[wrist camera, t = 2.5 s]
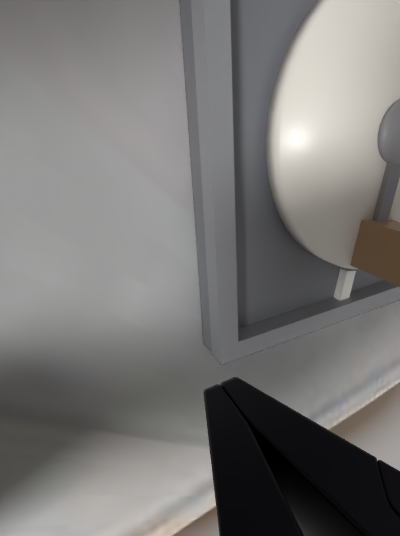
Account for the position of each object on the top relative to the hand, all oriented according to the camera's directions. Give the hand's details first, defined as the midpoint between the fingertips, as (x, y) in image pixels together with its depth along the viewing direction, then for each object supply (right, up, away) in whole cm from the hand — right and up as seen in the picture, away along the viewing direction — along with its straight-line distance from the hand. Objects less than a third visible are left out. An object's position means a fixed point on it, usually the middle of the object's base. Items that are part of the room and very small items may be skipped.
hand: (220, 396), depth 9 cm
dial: (+9, +10, +10) cm, 16 cm away
